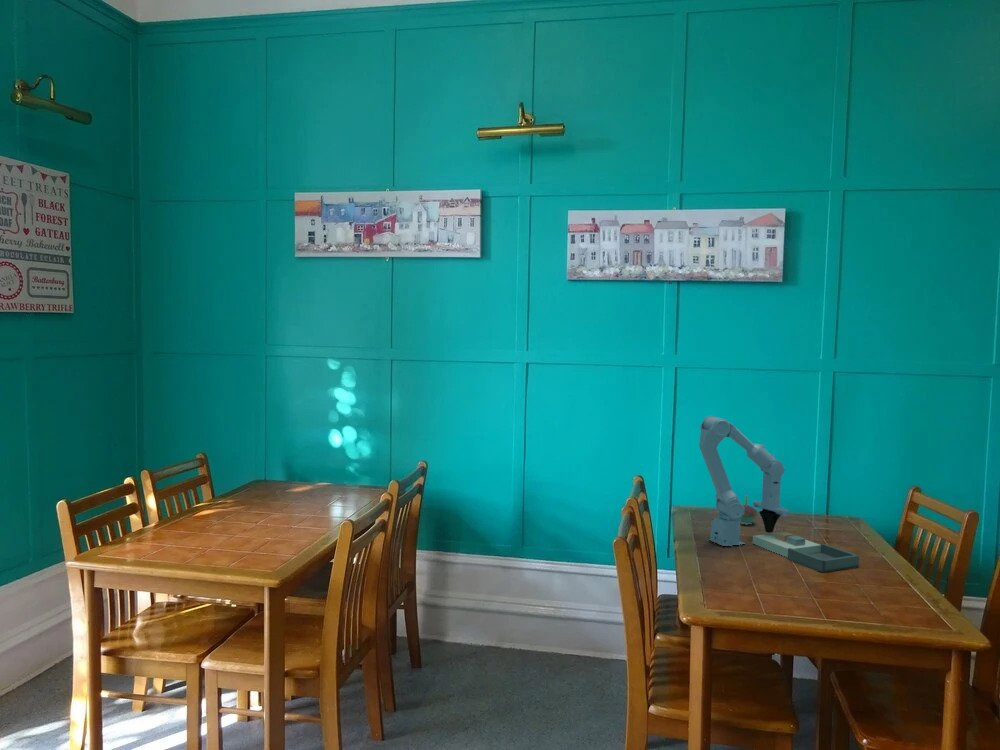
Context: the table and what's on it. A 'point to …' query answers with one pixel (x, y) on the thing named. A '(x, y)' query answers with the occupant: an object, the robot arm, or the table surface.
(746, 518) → the cupcake
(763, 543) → the large sage green panel
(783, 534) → the tile
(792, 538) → the tile
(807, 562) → the bin
